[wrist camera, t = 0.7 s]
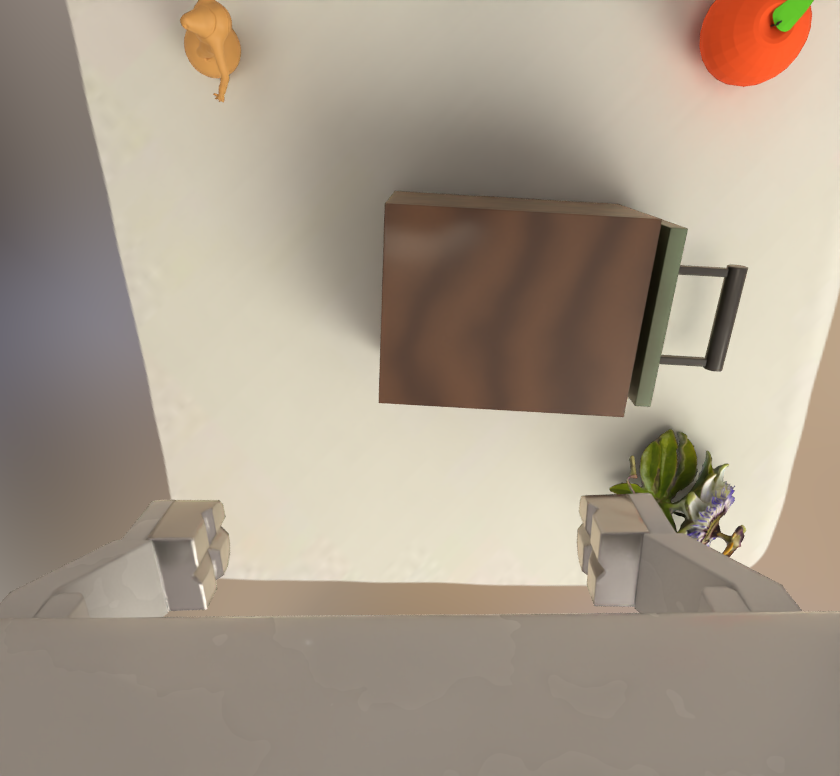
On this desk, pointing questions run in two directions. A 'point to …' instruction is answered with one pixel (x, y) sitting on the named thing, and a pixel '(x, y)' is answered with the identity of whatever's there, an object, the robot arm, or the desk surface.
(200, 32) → the figurine
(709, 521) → the passion flower
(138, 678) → the robot arm
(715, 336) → the drawer
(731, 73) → the clementine
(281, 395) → the desk surface
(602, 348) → the cabinet
